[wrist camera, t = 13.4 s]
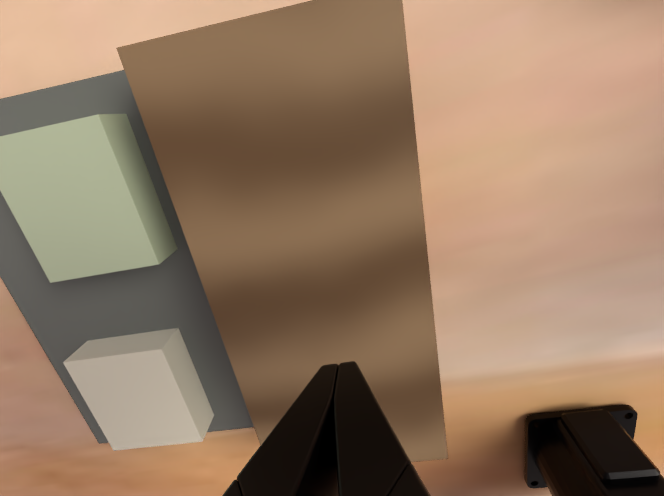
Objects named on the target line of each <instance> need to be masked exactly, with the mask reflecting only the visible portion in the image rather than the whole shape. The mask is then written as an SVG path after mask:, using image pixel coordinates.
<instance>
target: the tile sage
mask: <svg viewBox="0 0 664 496" xmlns="http://www.w3.org/2000/svg"><path fill="white" fill-rule="evenodd" d="M0 191H1V193H2V195H3V197H4V198H5V200H6V202H7V204H8V206H9V208H10V209H11V211H12V213H13V215H14V217H15V219H16V221H17V222H18V224H19V226H20V228H21V230H22V232H23V233H24V235H25V237H26V239H27V241H28V243H29V245H30V246H31V248H32V250H33V252H34V254H35V256H36V257H37V259H38V261H39V263H40V265H41V267H42V269H43V270H44V272H45V274H46V276H47V278H48V280H49V281H50V283H52V282H58V281H64V280H70V279H76V278H82V277H88V276H93V275H99V274H105V273H111V272H117V271H123V270H129V269H135V268H141V267H147V266H153V265H158V264H160V263H162V262H163V261H164V260H165V259H166V258H168V257H169V256H170V255H171V254H172V253H174V252H175V251H176V250H177V249H178V248H177V246H176V243H175V241H174V238H173V235H172V233H171V230H170V227H169V225H168V222H167V220H166V217H165V214H164V212H163V209H162V206H161V204H160V201H159V199H158V196H157V193H156V191H155V188H154V185H153V183H152V180H151V177H150V175H149V172H148V170H147V167H146V164H145V162H144V159H143V156H142V154H141V151H140V149H139V146H138V143H137V141H136V138H135V135H134V133H133V130H132V128H131V125H130V122H129V120H128V117H127V114H97V115H93V116H89V117H84V118H80V119H75V120H71V121H66V122H62V123H58V124H53V125H49V126H44V127H40V128H35V129H31V130H27V131H22V132H18V133H13V134H9V135H4V136H0Z"/></svg>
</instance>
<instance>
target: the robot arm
mask: <svg viewBox="0 0 664 496" xmlns="http://www.w3.org/2000/svg"><path fill="white" fill-rule="evenodd" d="M636 420H637V412H636V411H635V410H634V409H633V408H632V407H631V406H630V405H618V406H608V407H598V408H589V409H579V410H569V411H559V412H549V413H539V414H532V415H529V416H527V417H526V419H525V471H524V479H525V481H526V483H527V485H528V487H530V488H544V487H548V489H549V491H550V493H551V495H552V496H664V478H663V476H662V475H661V474H660V471H659V469H658V468H657V467H656V466H655V465H654V464H653V462H652V461H651V460H650V459H649V458H648V457H647V455H646V454H645V453H644V452H643V451H642V450H641V448H640V447H639V446H638V445H637V444H636V443H635V441H634V440H633V439H634V433H635V427H636ZM222 496H431V495H430V494H429V492H428V490H427V489H426V487H425V485H424V484H423V482H422V480H421V479H420V477H419V475H418V473H417V471H416V470H415V468H414V466H413V465H412V464H411V461H410V459H409V457H408V455H407V454H406V452H405V450H404V448H403V446H402V445H401V443H400V441H399V439H398V437H397V435H396V434H395V432H394V430H393V428H392V426H391V425H390V423H389V421H388V419H387V417H386V416H385V414H384V412H383V410H382V408H381V406H380V405H379V403H378V401H377V399H376V397H375V396H374V394H373V392H372V390H371V388H370V386H369V385H368V383H367V381H366V379H365V377H364V376H363V374H362V372H361V370H360V368H359V366H358V365H357V363H356V362H355V361H350V362H343V363H340V364H339V365H338V364H336V363H335V364H328V365H323V366H321V367H320V369H319V370H318V371H317V372H316V374H315V375H314V376H313V378H312V379H311V380H310V382H309V383H308V384H307V386H306V387H305V388H304V390H303V391H302V392H301V393H300V395H299V396H298V397H297V399H296V400H295V401H294V403H293V404H292V405H291V407H290V408H289V409H288V410H287V412H286V413H285V414H284V416H283V417H282V418H281V420H280V421H279V422H278V424H277V425H276V426H275V428H274V429H273V430H272V431H271V433H270V434H269V435H268V437H267V438H266V439H265V441H264V442H263V443H262V445H261V446H260V447H259V449H258V450H257V451H256V452H255V454H254V455H253V456H252V458H251V459H250V460H249V462H248V463H247V464H246V466H245V467H244V468H243V469H242V471H241V472H240V473H239V475H238V476H237V480H234V481H233V482H232V484H231V485H230V486H229V488H228V489H227V490H226V492H225V493H224V494H223V495H222Z"/></svg>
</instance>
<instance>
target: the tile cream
mask: <svg viewBox="0 0 664 496" xmlns="http://www.w3.org/2000/svg"><path fill="white" fill-rule="evenodd" d="M63 364H64V365H65V367H66V369H67V370H68V372H69V374H70V376H71V377H72V379H73V381H74V383H75V384H76V386H77V388H78V390H79V391H80V393H81V395H82V397H83V398H84V400H85V402H86V404H87V405H88V407H89V409H90V410H91V412H92V414H93V416H94V417H95V419H96V421H97V423H98V424H99V426H100V428H101V430H102V431H103V433H104V435H105V437H106V438H107V440H108V442H109V444H110V445H111V447H112V449H113V450H114V451H116V450H125V449H135V448H145V447H154V446H164V445H174V444H184V443H193V442H203V439H204V437H205V435H206V433H207V430H208V428H209V426H210V424H211V421H212V419H213V417H214V414H213V411H212V409H211V406H210V404H209V401H208V399H207V396H206V394H205V392H204V389H203V387H202V384H201V382H200V379H199V377H198V375H197V372H196V370H195V367H194V365H193V362H192V360H191V358H190V355H189V353H188V350H187V348H186V345H185V343H184V340H183V338H182V336H181V333H180V331H179V328H173V329H166V330H159V331H152V332H145V333H138V334H131V335H124V336H117V337H110V338H103V339H96V340H89V341H87V342H85V343H84V344H83V345H82V346H81V347H80V348H79V349H78V350H76V351H75V352H74V353H73V354H72V355H71V356H70V357H68V358H67V359H66V360H65V361H64V362H63Z"/></svg>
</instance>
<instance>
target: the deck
mask: <svg viewBox="0 0 664 496" xmlns="http://www.w3.org/2000/svg"><path fill="white" fill-rule="evenodd" d="M117 51H118V54H119V56H120V59H121V62H122V65H123V67H124V70H125V73H126V76H127V78H128V81H129V84H130V87H131V89H132V92H133V95H134V98H135V100H136V103H137V106H138V109H139V111H140V114H141V117H142V120H143V122H144V125H145V128H146V131H147V133H148V136H149V139H150V142H151V144H152V147H153V150H154V153H155V155H156V158H157V161H158V164H159V166H160V169H161V172H162V175H163V177H164V180H165V183H166V186H167V188H168V191H169V194H170V197H171V200H172V202H173V205H174V208H175V211H176V213H177V216H178V219H179V222H180V224H181V227H182V230H183V233H184V235H185V238H186V241H187V244H188V246H189V249H190V252H191V255H192V257H193V260H194V263H195V266H196V268H197V271H198V274H199V277H200V279H201V282H202V285H203V288H204V290H205V293H206V296H207V299H208V301H209V304H210V307H211V310H212V312H213V315H214V318H215V321H216V323H217V326H218V329H219V332H220V334H221V337H222V340H223V343H224V345H225V348H226V351H227V354H228V356H229V359H230V362H231V365H232V367H233V370H234V373H235V376H236V378H237V381H238V384H239V387H240V389H241V392H242V395H243V398H244V400H245V403H246V406H247V409H248V411H249V414H250V417H251V420H252V422H253V425H254V428H255V431H256V433H257V436H258V439H259V442H260V444H261V445H262V443H263V442H264V441H265V439H266V438H267V437H268V435H269V434H270V433H271V431H272V430H273V429H274V428H275V426H276V425H277V424H278V422H279V421H280V420H281V418H282V417H283V416H284V414H285V413H286V412H287V410H288V409H289V408H290V407H291V405H292V404H293V403H294V401H295V400H296V399H297V397H298V396H299V395H300V393H301V392H302V391H303V390H304V388H305V387H306V386H307V384H308V383H309V382H310V380H311V379H312V378H313V376H314V375H315V374H316V372H317V371H318V370H319V369H320V367H321V366H323V365H328V364H335V363H336V364H338V365H339V364H340V363H343V362H350V361H355V362H356V363H357V365H358V366H359V368H360V370H361V372H362V374H363V376H364V377H365V379H366V381H367V383H368V385H369V386H370V388H371V390H372V392H373V394H374V396H375V397H376V399H377V401H378V403H379V405H380V406H381V408H382V410H383V412H384V414H385V416H386V417H387V419H388V421H389V423H390V425H391V426H392V428H393V430H394V432H395V434H396V435H397V437H398V439H399V441H400V443H401V445H402V446H403V448H404V450H405V452H406V454H407V455H408V457H409V459H410V461H411V462H418V461H429V460H440V459H448V454H447V444H446V434H445V424H444V414H443V404H442V394H441V384H440V374H439V364H438V354H437V344H436V334H435V324H434V314H433V304H432V294H431V284H430V274H429V264H428V254H427V244H426V234H425V224H424V214H423V204H422V194H421V184H420V174H419V164H418V154H417V144H416V134H415V124H414V114H413V104H412V94H411V84H410V74H409V64H408V54H407V44H406V34H405V24H404V14H403V4H402V0H312V1H308V2H304V3H300V4H296V5H292V6H287V7H283V8H279V9H275V10H271V11H267V12H263V13H259V14H254V15H250V16H246V17H242V18H238V19H234V20H230V21H226V22H221V23H217V24H213V25H209V26H205V27H201V28H197V29H193V30H188V31H184V32H180V33H176V34H172V35H168V36H164V37H160V38H155V39H151V40H147V41H143V42H139V43H135V44H131V45H127V46H122V47H118V48H117Z"/></svg>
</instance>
